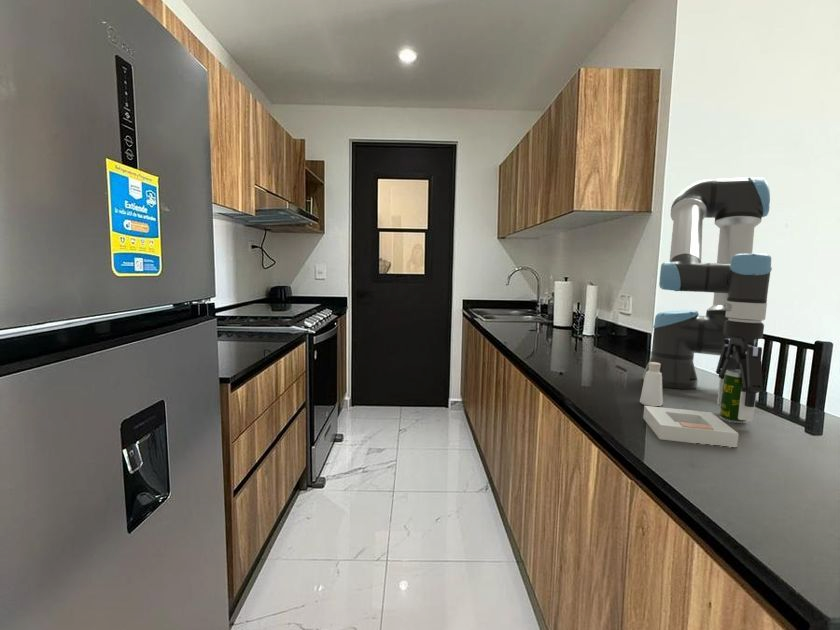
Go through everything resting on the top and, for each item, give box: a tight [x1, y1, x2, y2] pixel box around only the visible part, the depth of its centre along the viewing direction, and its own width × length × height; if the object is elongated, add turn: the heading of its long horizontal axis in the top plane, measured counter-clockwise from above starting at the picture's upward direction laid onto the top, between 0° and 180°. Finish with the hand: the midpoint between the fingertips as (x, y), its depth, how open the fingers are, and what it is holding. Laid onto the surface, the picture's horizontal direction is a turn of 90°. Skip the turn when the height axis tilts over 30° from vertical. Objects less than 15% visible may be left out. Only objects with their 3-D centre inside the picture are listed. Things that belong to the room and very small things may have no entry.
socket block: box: [642, 405, 739, 448], centre depth 97 cm, size 14×14×3 cm
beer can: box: [719, 368, 748, 424], centre depth 105 cm, size 5×5×12 cm
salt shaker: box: [639, 361, 664, 407], centre depth 117 cm, size 5×5×11 cm
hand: (733, 412), depth 106 cm, fingers open, 11 cm apart
